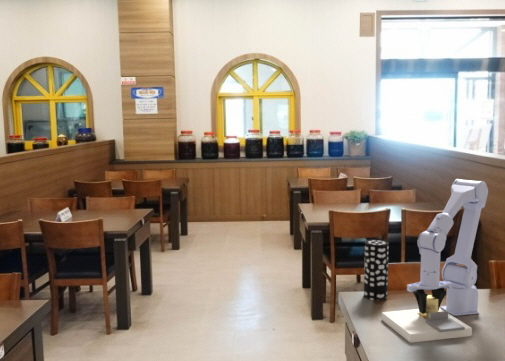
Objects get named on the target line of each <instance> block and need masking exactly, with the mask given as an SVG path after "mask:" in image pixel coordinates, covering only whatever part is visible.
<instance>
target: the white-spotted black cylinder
mask: <svg viewBox="0 0 505 361" xmlns="http://www.w3.org/2000/svg"><path fill="white" fill-rule="evenodd" d="M389 245H390V243H389V242H388V241H386V240H382V239H368V240H366V241H364V262H363V263H364V266H363V269H364V272H363V273H364V274H363V297H364V298H366V299H367V300H371V301H384V300H383V299H385V300H387V299H388V289H389V288H388V285H389V284H388V283H389V251H390V250H389V247H390V246H389ZM386 298H387V299H386Z"/></svg>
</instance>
